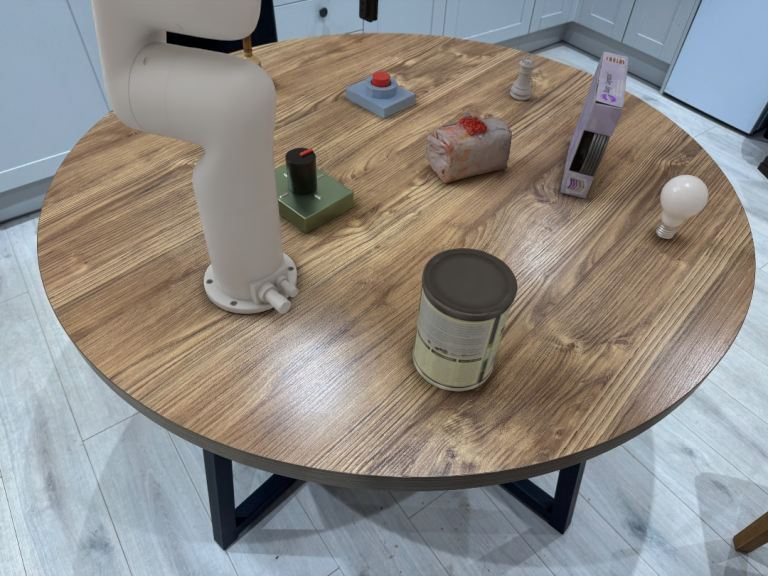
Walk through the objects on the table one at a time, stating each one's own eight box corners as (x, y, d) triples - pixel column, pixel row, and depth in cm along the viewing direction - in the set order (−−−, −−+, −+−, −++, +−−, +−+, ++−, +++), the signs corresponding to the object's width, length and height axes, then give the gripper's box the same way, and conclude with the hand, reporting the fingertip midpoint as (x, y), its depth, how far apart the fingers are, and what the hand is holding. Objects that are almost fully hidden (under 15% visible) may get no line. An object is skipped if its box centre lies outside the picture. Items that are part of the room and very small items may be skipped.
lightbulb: (657, 252, 88) (688, 194, 80) (634, 226, 92) (661, 168, 84) (692, 246, 89) (726, 189, 81) (667, 221, 93) (697, 164, 85)
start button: (393, 84, 114) (394, 76, 113) (381, 90, 112) (381, 81, 111) (380, 78, 115) (381, 69, 114) (368, 83, 114) (368, 75, 112)
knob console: (353, 206, 92) (353, 190, 90) (306, 234, 87) (305, 218, 84) (301, 171, 98) (300, 156, 96) (254, 195, 93) (251, 179, 90)
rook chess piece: (505, 93, 121) (513, 56, 115) (522, 89, 123) (531, 53, 117) (517, 103, 118) (525, 65, 113) (534, 99, 120) (544, 62, 114)
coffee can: (408, 326, 75) (418, 246, 65) (486, 326, 75) (508, 247, 65) (414, 392, 68) (426, 314, 58) (499, 392, 68) (526, 315, 58)
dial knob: (300, 198, 88) (298, 166, 84) (281, 185, 90) (278, 153, 86) (323, 186, 90) (322, 155, 86) (304, 173, 92) (302, 142, 88)
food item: (441, 189, 96) (449, 138, 89) (420, 164, 101) (426, 113, 94) (509, 173, 100) (522, 123, 93) (486, 150, 105) (496, 100, 98)
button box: (414, 104, 116) (416, 85, 113) (384, 118, 111) (385, 99, 109) (376, 84, 121) (377, 66, 118) (345, 98, 116) (345, 79, 114)
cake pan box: (587, 204, 95) (624, 107, 83) (557, 197, 96) (589, 100, 84) (596, 146, 108) (629, 54, 95) (569, 140, 109) (599, 49, 96)
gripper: (387, -112, 96) (382, 4, 109) (320, -101, 88) (323, 22, 101) (421, -102, 92) (411, 16, 105) (353, -90, 84) (352, 36, 97)
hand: (368, 19), depth 103 cm, fingers closed
